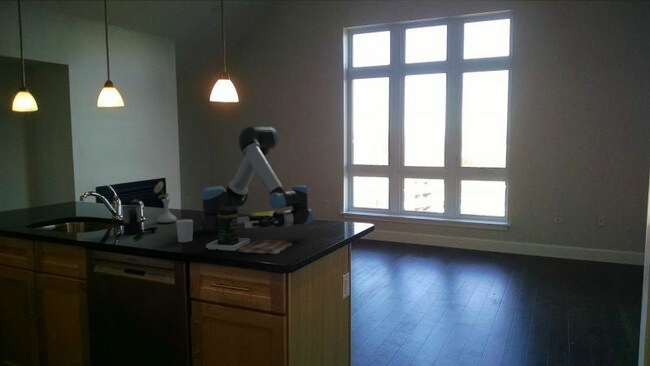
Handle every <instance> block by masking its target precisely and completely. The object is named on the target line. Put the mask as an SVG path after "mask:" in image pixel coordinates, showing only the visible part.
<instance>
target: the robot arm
mask: <svg viewBox="0 0 650 366" xmlns="http://www.w3.org/2000/svg"><path fill="white" fill-rule="evenodd" d="M237 142H238V143H237V144H238V148H239V150H240V152H241V153H242V155H243V156H244V157H243V160H242V162H241V164H240V165H239V168H238V170H237V172H236V174H235V176H234V178H233V179H232V180H230V181H229V182H228V184H227V185H226V187H225V186H222V185H214V186H213V185H212V186H209V187H206V188H204V189H202V194H201V195H202V196H201V199H202V219H201V222H200V227H199V230H200V232H202V233H203V232H205V233H218V217H217V210H218V208H221V207H226V206H235V207H237V208H240V207H243V206H245V205H246V204H247V203H248V201H249V195H250V193H249V189H248V187H249V185H250V182H251V180H252V179H253V176H254V175H255V173H256V175H257V176H258V177H259V179H260V181H261V183H262V184H263V186H264V188H265V190H266V191H267V193H268V194H269V196H268V204H269V206H270V207H271V208H272V209H275V210H276V209H283V208H287V207H288V208H289V207H292V210H290V209H289V210H280V211H279V210H278V211H274V213H273V216H270V215H264V216H252V215H248V216H241V217H238V218H237V224H244V228H245V229H252V228H259V227H260V228H267V227H271V226H274V227H276V228H280V227H287V228H288V227H291V226H299V225H306V224H311V223H312V222H313V219H314V214H313V210H312V209H311V208H309V207H308V204H309V203H308V199H309V198H308V197H309V196H308V186H306V185H301V184H299V185H293V186H292V188H291V190H286V189H285V188H284V186H283V185H282V184H283V183H281V181H280V179H279V178H278V176H277V175H276V173H275V172H274V170H273V168H272V167H271V165H270V163H269V161H268V160H267V158H266V156H267V155H268V154H269V153H270V150H271V149H272V150H273V149H275V148H276V147H278V144H279V135H278V132H277V130H276V129H275V128H274V127H272V126H266V125H265V126H254V125H251V126H246V127H244V128H243V129H242V130H241V131H240V132H239V135H238V140H237Z"/></svg>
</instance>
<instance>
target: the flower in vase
mask: <svg viewBox="0 0 650 366" xmlns="http://www.w3.org/2000/svg"><path fill="white" fill-rule="evenodd" d="M163 186H164V182H163V181H161V180H160V181H158V183H157V184H156V185H155V186H154V188H153V193H155V194H158V193H160V192H161V194H160V195H159V196H158V197H157V198H158V199H161V201H162V202H163V203H162V204H163V206H164V212H163V213H162V214H160V216H159V217H157V219H156V222H158V223H164V224H168V223H174V222H176V221H178V219H177V216H175V215H174V214H173V213H171V212H170V211H169V203H170V201H171V199H170V198H167V197H169V196H170V195H169V192H167V193H165V194H164V192H163V190H162V189H163V188H164V187H163ZM162 198H164V199H162Z"/></svg>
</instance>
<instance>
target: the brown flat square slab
mask: <svg viewBox="0 0 650 366" xmlns="http://www.w3.org/2000/svg"><path fill="white" fill-rule="evenodd" d="M292 245H293V244H292V242H288V240H275V239H257V240H255V241H253V242H250V243H249V244H247V245H245V246H243V247H241V248H238V252H241V253H252V254H253V253H255V254H265V253H269V255H278V254H279V253H281V252H283V251H285V250H286V249H287V247H288V248H290V247H291V246H292ZM285 248H286V249H285ZM282 250H283V251H282ZM280 251H281V252H280ZM277 253H278V254H277Z"/></svg>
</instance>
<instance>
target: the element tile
mask: <svg viewBox="0 0 650 366" xmlns="http://www.w3.org/2000/svg"><path fill="white" fill-rule="evenodd" d="M274 212H275V211H273V210H269V211H262V212H261V211H258V212H252V213H251V216H264V215H270V216H273V213H274Z"/></svg>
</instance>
